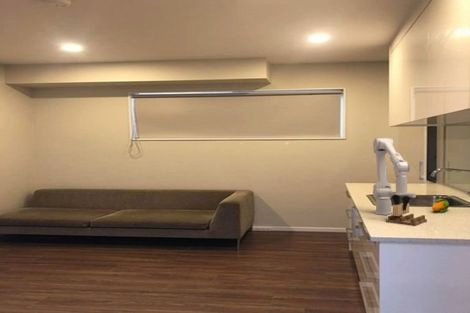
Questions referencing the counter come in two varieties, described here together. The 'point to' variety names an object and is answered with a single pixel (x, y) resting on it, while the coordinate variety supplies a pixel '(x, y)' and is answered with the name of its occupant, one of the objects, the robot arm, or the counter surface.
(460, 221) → the counter surface
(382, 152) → the robot arm
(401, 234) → the counter surface
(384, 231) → the counter surface
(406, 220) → the drying rack
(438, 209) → the corn
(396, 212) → the clay bar
